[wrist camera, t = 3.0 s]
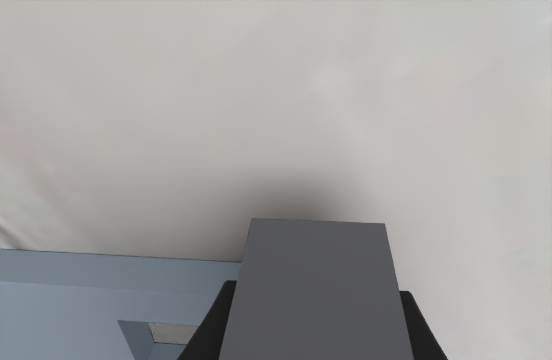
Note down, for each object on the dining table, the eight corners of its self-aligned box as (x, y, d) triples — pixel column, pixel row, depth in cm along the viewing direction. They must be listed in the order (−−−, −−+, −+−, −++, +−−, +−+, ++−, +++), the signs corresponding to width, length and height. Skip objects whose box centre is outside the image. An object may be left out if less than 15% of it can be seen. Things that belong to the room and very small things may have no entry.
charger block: (369, 308, 13) (398, 533, 8) (259, 301, 14) (224, 512, 9) (384, 223, 11) (436, 464, 6) (252, 218, 11) (199, 439, 6)
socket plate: (293, 405, 26) (291, 438, 24) (26, 379, 28) (8, 408, 26) (292, 265, 18) (289, 300, 16) (-82, 244, 20) (-119, 273, 18)
